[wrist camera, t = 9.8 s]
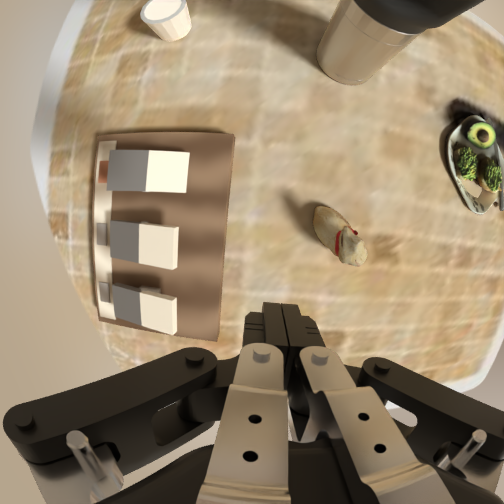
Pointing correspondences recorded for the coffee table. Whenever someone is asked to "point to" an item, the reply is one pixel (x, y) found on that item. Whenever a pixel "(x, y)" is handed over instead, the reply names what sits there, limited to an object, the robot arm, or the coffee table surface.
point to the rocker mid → (144, 243)
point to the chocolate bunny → (339, 236)
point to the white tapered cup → (167, 18)
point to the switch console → (172, 214)
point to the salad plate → (476, 162)
